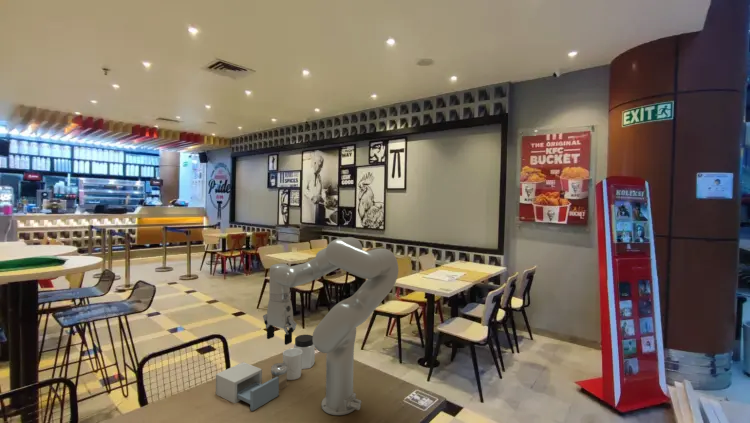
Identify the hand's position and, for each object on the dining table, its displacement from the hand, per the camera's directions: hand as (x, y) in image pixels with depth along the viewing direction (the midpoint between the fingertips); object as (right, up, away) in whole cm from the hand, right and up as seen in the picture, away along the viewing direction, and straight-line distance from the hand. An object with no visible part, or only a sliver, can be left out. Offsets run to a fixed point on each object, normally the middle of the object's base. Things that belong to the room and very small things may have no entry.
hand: (279, 340), depth 136 cm
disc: (0, -12, 0) cm, 12 cm away
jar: (+6, -18, +19) cm, 27 cm away
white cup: (+3, -18, +9) cm, 20 cm away
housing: (-14, -18, -3) cm, 23 cm away
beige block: (0, -18, 0) cm, 18 cm away
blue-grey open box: (-6, -18, -8) cm, 21 cm away
